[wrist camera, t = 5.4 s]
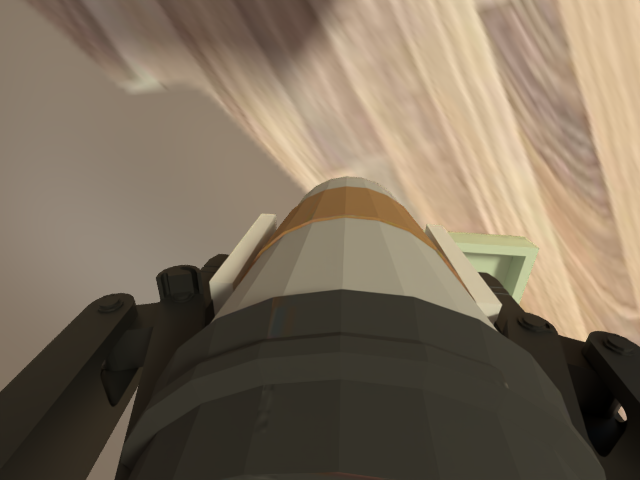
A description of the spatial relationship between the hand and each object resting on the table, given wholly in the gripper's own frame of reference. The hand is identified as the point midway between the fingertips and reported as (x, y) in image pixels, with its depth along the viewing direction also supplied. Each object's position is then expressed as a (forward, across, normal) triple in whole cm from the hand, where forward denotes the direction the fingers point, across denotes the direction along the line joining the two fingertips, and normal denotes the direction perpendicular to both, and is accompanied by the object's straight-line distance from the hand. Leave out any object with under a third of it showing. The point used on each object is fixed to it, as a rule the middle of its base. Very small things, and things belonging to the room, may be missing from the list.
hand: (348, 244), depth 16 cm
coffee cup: (+2, 0, 0) cm, 2 cm away
